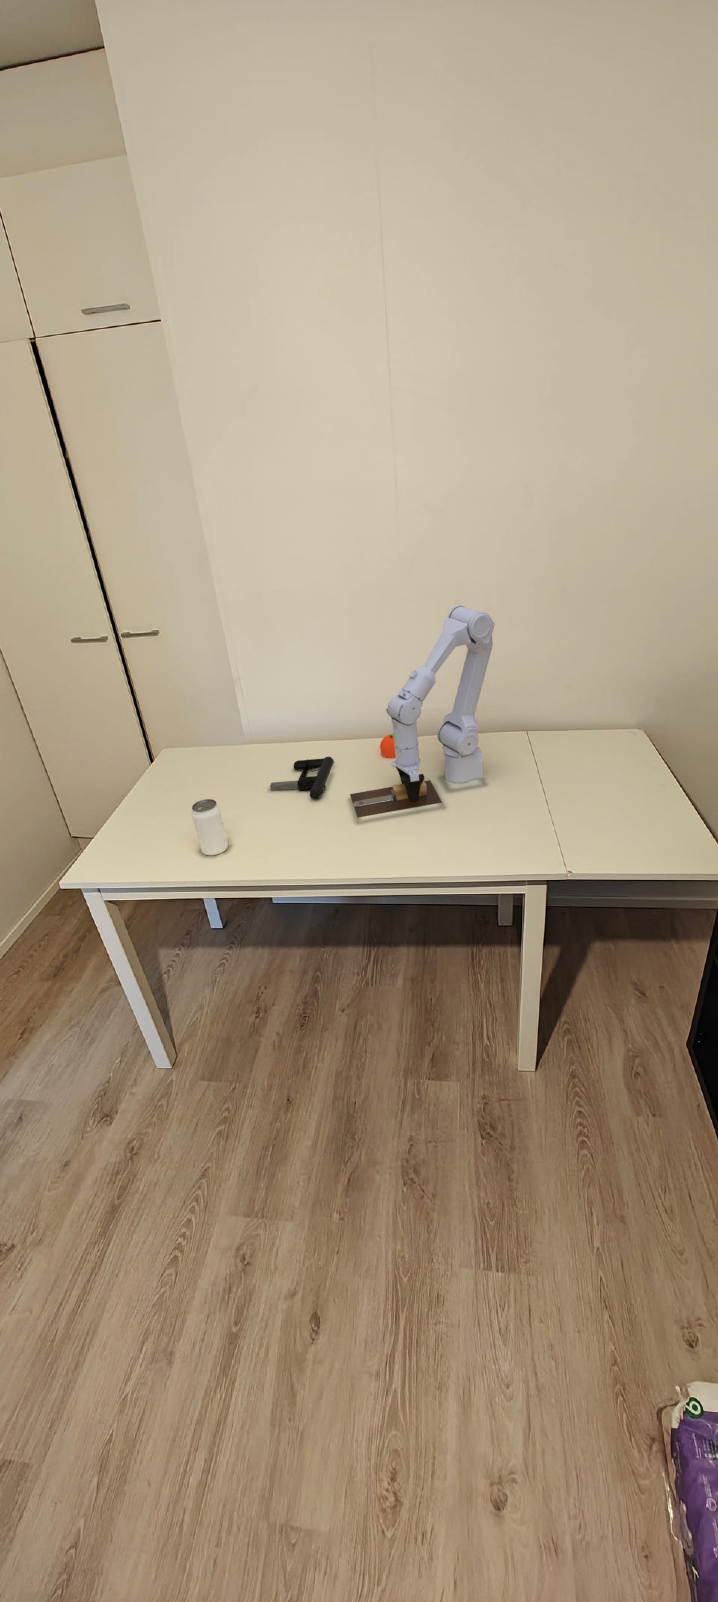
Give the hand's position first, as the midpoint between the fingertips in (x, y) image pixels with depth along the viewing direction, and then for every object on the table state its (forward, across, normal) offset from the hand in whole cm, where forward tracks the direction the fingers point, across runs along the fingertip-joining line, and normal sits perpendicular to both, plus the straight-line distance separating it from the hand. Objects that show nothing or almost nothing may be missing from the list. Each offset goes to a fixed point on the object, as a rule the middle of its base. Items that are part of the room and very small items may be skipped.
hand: (410, 793), depth 177 cm
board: (+2, 0, -4) cm, 4 cm away
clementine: (+2, -25, +1) cm, 25 cm away
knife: (0, 0, -5) cm, 5 cm away
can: (+2, +6, -49) cm, 49 cm away
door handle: (+2, -19, -25) cm, 32 cm away
